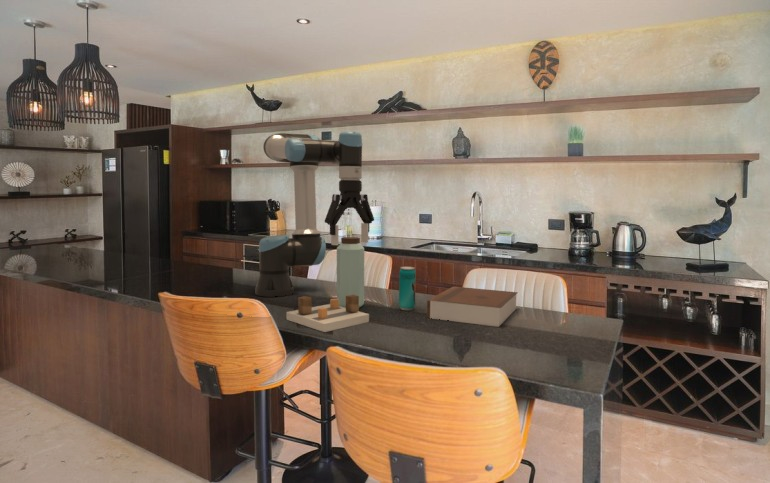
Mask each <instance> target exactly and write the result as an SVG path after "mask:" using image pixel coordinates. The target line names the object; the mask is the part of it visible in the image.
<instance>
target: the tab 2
mask: <svg viewBox="0 0 770 483" xmlns="http://www.w3.org/2000/svg"><path fill="white" fill-rule="evenodd" d="M359 310H360V307H359V296H357V295H348V296H346V311H348V312H357V311H359ZM359 312H360V311H359Z"/></svg>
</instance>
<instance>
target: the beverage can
mask: <svg viewBox="0 0 770 483" xmlns="http://www.w3.org/2000/svg"><path fill="white" fill-rule="evenodd" d="M399 268H400V269H399V272H398V274H399V275H398V281H399V282H398V285H399V286H398V289H399V290H398V306H399V309H400V310H402V311H406V312H408V311H409V312H410V311H413V310H414V308H415V306H416V277H417V276H416V267H413V266H400V267H399Z"/></svg>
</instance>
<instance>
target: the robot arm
mask: <svg viewBox="0 0 770 483" xmlns="http://www.w3.org/2000/svg"><path fill="white" fill-rule="evenodd" d="M263 142H264V143H263V146H262V147H263V152H264V155H265V156H266V157H268V158H269V159H270V160H273V161H275V162H279V163H289V169H291V171H293V180H294V181H293V186H294V190H293V191H294V210H295V211H294V214H295V215H294V216H295V217H294V218H295V230H294V231H293V232H292V234H291V237H289V235H288V234H278V235H271V236H266V237H262V238H261V239H260V240H259V242H258V243H259V245H258V258H259V260H258V261H259V263H258V264H259V276H258V278H257V282H256V285H255V289H254V291H255V295H256V296H260V297H268V298H269V297H270V298H273V297H274V298H275V296H278V297H286V296H290V295H292V293H293V294H294V286H293V282H292V280H291V276H290V268H291V267H307V266H309V267H311V266H318V265H321V263H322V262H323V261H324V259H325V257H326V256H325V255H326V251H327V244H326V240H325V238H324V237H322V236H321V232H320V231H319V230H318V229H317V203H316V202H317V199H316V195H317V194H316V170H318V169H319V164H321V163H331V164H337V165H338V179H339V182H338V191H339V193H340V194H339V193H338V194H337V193H336V194H335V193H334V194H332V195H331V196H332V197H331V199H332V200H331V203H330V205H329V208H328V210H327V214H326V216H325V218H324V223H325V224H327V225H329V235H330V236H331V238H330V240H331V241H330V242H331V246H339V225H338V223H339V222H340V220H341V218H342V216H343V214H344V212H345V211H346V210H348V209H354V210H355V211H356V213H357V214H358V216H359V218H360V220H361V221H362V223H361V224H360V225H361V226H360V228H361V230H360V231H361V232H360V234H361V236H360V243H365V244H366V243H368V244H369V233H370V224H372V222H374V221H375V217H374V215H373V212H372V209H371V206H370V203H369V200H368V199H369V196H368V194H365V193H364V194H361V192H362V189H363V182H362V180H361V179H362V178H363V177H362V176H363V174H362V173H363V172H362V171H363V169H362V164H363V162H362V161H363V139H362V133H360V132H356V131H342V132H340V133H339V135H338V140H331V139H329V140H328V139H327V140H326V139H320V138H319V137H318V136H316V135H311V134H308V133H307V134H305V133H304V134H301V133H285V132H280V133H274V134H271V135H269V136H268V137H266V139H265V140H264V141H263ZM285 295H286V296H285Z"/></svg>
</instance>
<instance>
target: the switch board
mask: <svg viewBox="0 0 770 483" xmlns="http://www.w3.org/2000/svg"><path fill="white" fill-rule="evenodd" d="M329 299H330V298H329ZM286 321H290V322H293V323H296V324H298V325H302V326H304V327H307V328H311V329H313V330H317V331H320V332H323V333H327V332H331V331H335V330H339V329H343V328H349V327H353V326H358V325H361V324H366V323H369V322H370V313H365V312H363V311H357V312H348V311H346V308H344V307H340V306H339V299H337V298H331V299H330V300H329V303H328V304H323V305H317V306H316V305H315V306H312V313H309V314H300V313H298V309H295V310H290V311H286Z"/></svg>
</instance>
